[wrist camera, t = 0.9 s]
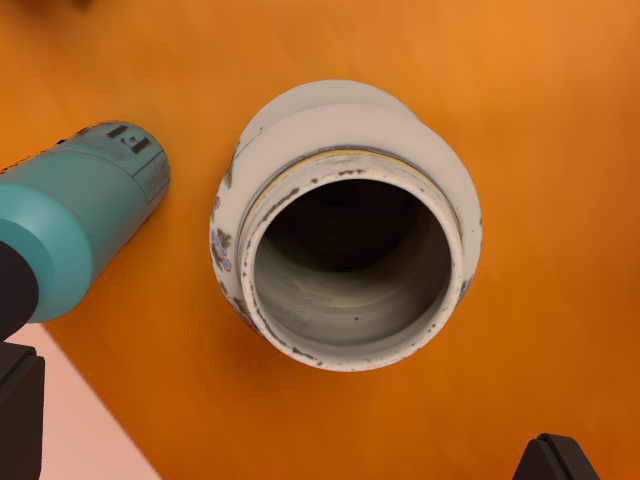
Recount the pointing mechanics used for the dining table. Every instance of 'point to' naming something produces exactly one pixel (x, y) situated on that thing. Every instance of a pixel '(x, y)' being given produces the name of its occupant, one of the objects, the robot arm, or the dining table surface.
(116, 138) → the beverage bottle
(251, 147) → the apothecary jar
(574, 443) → the robot arm
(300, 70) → the dining table surface
